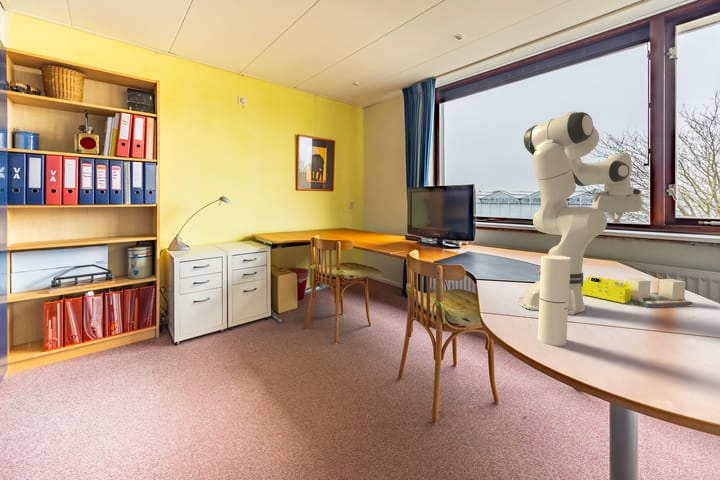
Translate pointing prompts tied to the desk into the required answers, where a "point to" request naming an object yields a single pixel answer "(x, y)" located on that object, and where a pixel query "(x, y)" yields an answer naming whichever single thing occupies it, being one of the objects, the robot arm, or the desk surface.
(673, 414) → the desk surface
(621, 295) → the yellow toy chassis
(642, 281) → the button
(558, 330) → the cylindrical container
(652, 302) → the button board
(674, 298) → the button
